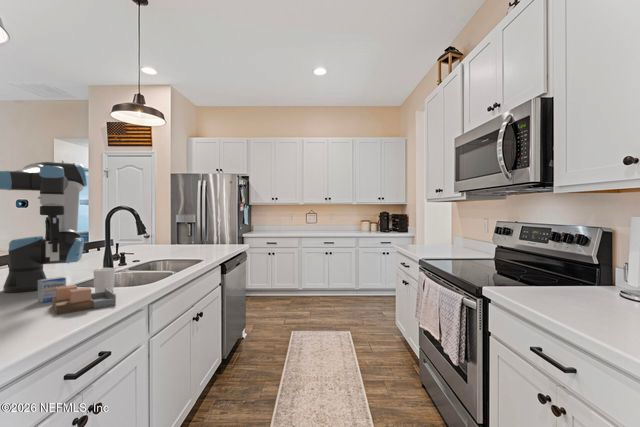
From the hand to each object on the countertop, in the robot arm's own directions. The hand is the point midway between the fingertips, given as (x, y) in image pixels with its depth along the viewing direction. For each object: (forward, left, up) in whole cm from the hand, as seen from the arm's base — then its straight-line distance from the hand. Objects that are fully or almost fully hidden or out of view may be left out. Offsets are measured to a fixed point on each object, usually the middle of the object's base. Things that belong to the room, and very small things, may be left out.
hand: (52, 258), depth 132 cm
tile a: (+13, +3, -13) cm, 19 cm away
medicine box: (0, 0, -17) cm, 17 cm away
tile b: (+21, +6, -13) cm, 26 cm away
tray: (+17, +13, -16) cm, 27 cm away
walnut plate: (+17, +4, -16) cm, 24 cm away
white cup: (-1, +18, -17) cm, 24 cm away
